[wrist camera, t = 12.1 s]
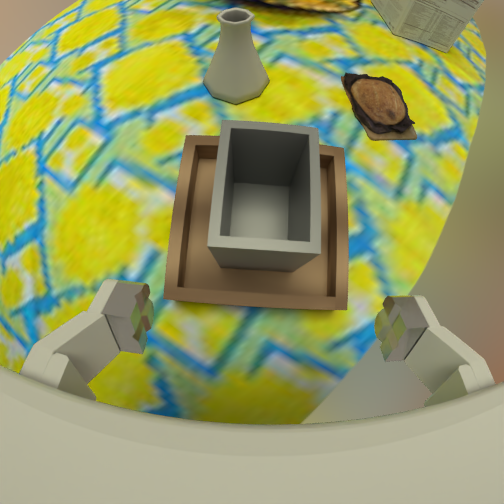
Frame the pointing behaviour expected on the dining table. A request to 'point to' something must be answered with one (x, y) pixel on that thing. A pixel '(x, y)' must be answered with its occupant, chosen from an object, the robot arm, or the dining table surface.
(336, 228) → the tray
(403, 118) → the bread roll
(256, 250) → the small crate
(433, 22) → the supplement box
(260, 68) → the flask
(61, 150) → the dining table surface
